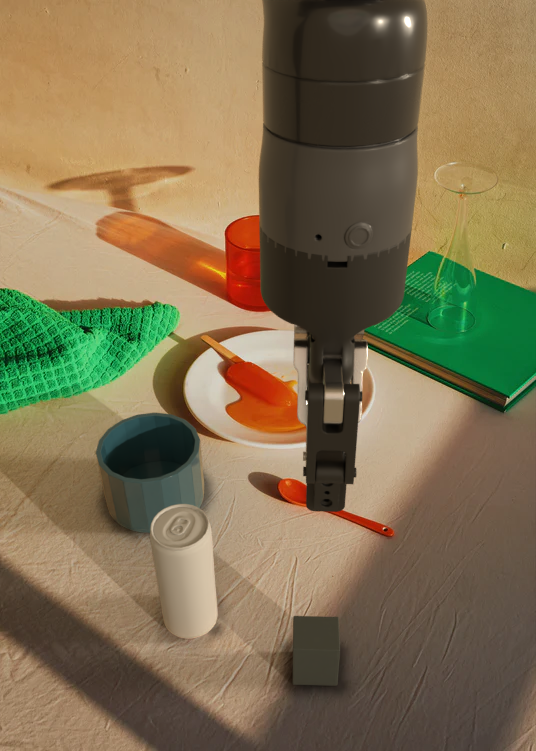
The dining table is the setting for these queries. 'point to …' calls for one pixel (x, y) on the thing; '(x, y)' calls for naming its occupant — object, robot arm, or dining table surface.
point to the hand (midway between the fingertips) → (323, 456)
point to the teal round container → (149, 468)
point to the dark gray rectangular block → (315, 650)
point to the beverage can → (185, 570)
